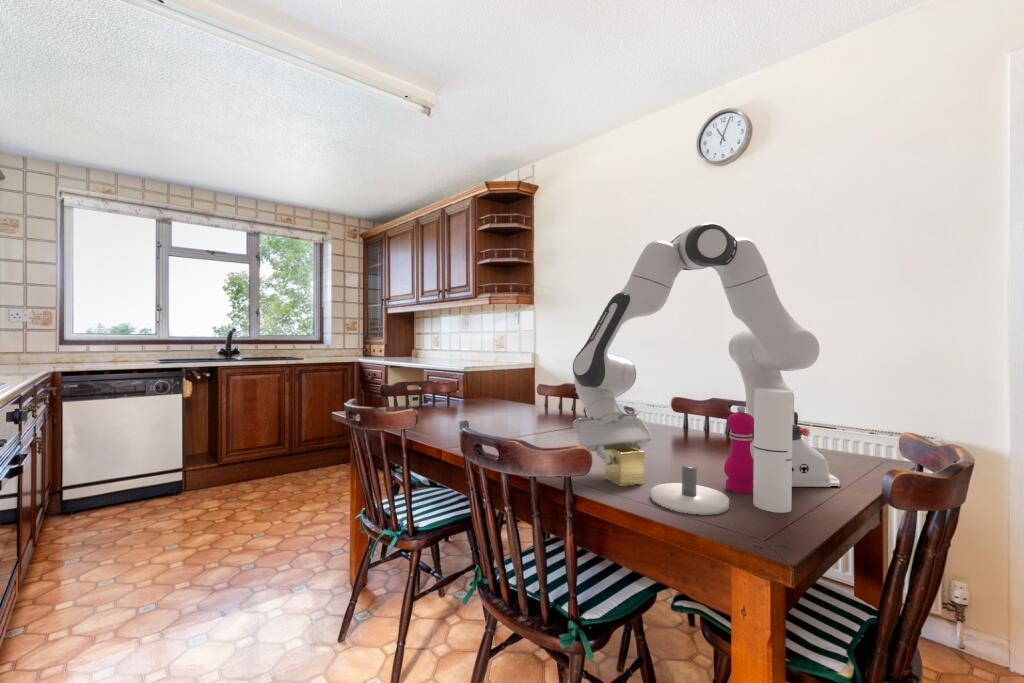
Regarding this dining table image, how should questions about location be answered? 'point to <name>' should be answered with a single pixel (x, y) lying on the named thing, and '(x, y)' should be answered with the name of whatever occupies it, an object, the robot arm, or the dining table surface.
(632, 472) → the yellow square cup
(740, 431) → the pepper mill
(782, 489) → the cylindrical container
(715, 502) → the plate
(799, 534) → the dining table surface
